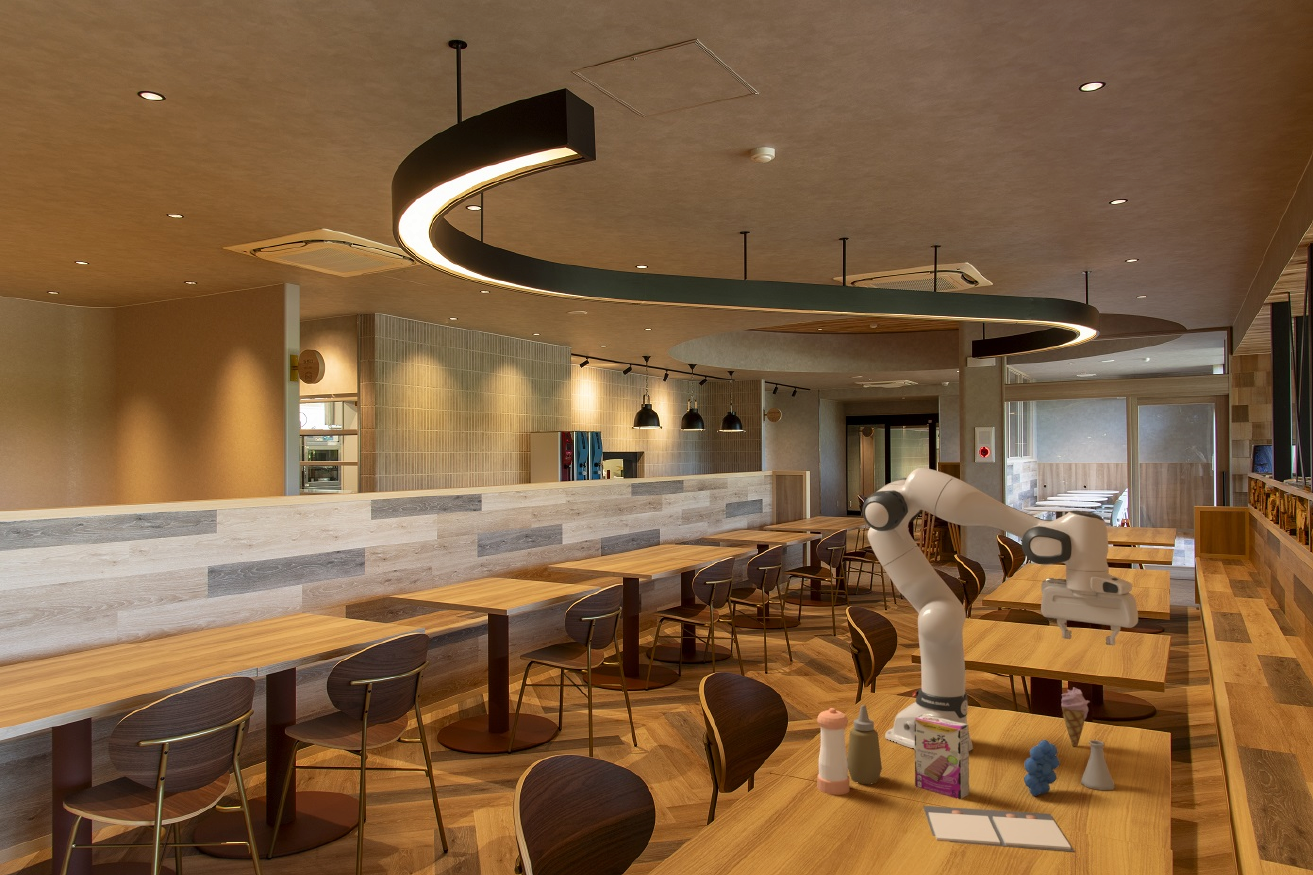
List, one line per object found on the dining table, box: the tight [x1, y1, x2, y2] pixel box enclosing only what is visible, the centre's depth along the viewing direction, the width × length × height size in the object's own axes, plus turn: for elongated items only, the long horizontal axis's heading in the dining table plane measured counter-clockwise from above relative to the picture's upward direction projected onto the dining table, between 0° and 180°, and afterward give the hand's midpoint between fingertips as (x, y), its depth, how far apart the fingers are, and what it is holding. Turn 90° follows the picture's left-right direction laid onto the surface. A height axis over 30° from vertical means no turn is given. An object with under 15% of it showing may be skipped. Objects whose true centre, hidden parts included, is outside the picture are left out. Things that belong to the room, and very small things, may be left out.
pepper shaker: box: [816, 707, 850, 796], centre depth 195 cm, size 7×7×19 cm
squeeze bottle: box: [847, 704, 883, 785], centre depth 200 cm, size 8×8×18 cm
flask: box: [1080, 739, 1115, 791], centre depth 197 cm, size 7×7×10 cm
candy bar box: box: [914, 714, 970, 800], centre depth 194 cm, size 11×5×16 cm, turn 47°
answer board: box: [923, 805, 1075, 853], centre depth 174 cm, size 26×17×1 cm, turn 80°
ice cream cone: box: [1060, 687, 1091, 747], centre depth 223 cm, size 7×6×15 cm
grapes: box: [1023, 739, 1061, 797], centre depth 193 cm, size 12×7×12 cm, turn 123°
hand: (1088, 641), depth 195 cm, fingers open, 8 cm apart
